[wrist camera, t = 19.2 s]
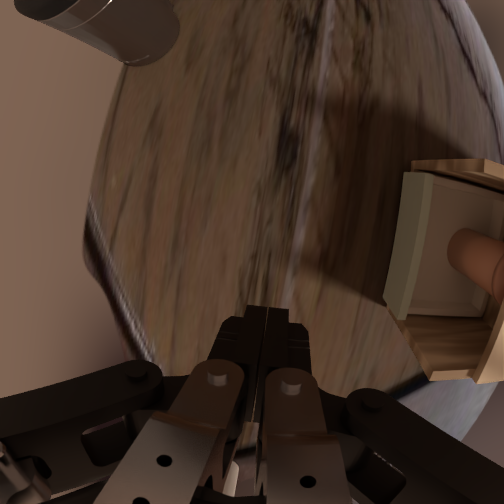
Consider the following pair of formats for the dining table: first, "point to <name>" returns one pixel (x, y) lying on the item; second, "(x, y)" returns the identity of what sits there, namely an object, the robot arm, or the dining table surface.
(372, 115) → the dining table surface
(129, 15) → the robot arm
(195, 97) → the dining table surface
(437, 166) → the housing
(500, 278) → the canister
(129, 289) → the dining table surface
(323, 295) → the dining table surface
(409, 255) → the tray
